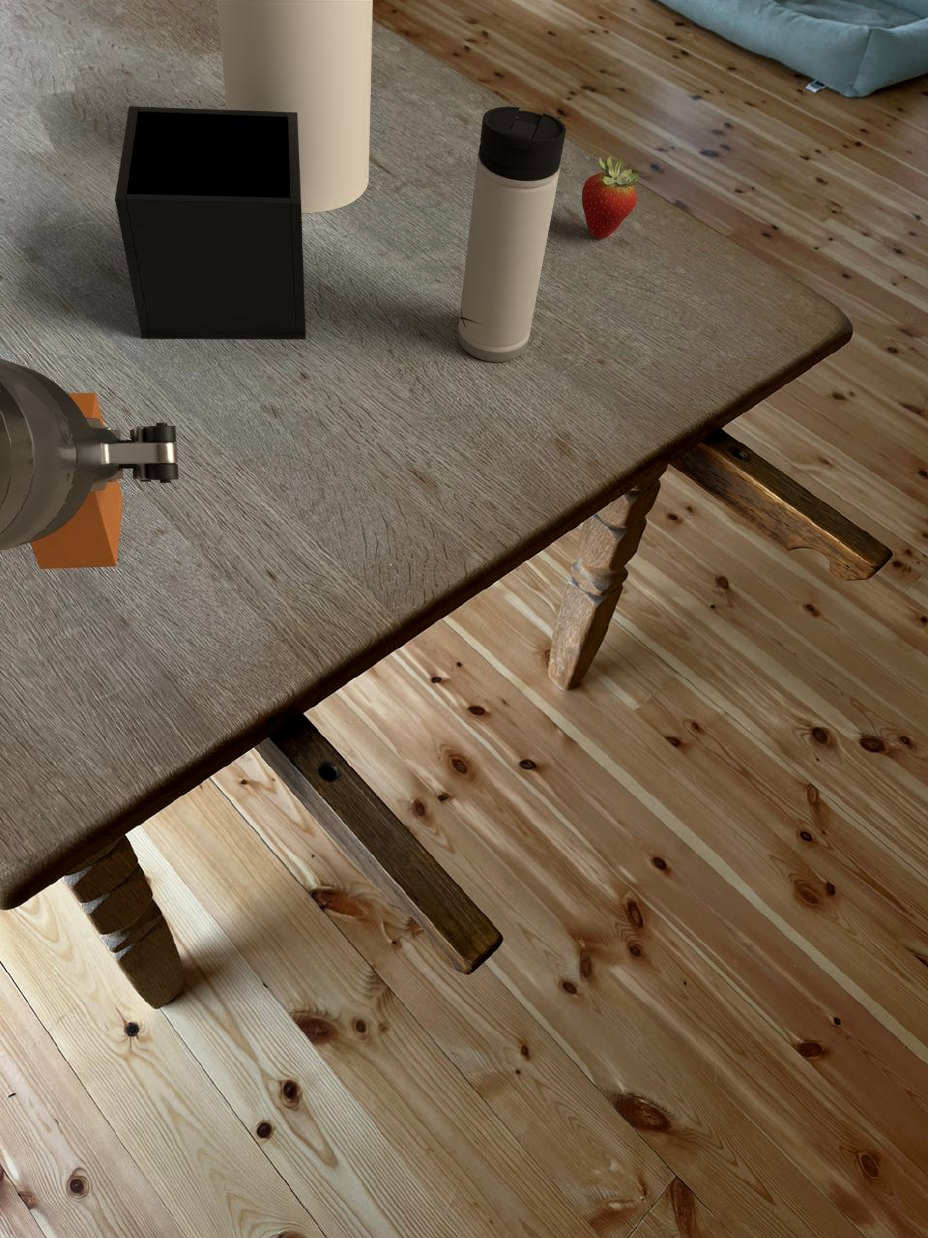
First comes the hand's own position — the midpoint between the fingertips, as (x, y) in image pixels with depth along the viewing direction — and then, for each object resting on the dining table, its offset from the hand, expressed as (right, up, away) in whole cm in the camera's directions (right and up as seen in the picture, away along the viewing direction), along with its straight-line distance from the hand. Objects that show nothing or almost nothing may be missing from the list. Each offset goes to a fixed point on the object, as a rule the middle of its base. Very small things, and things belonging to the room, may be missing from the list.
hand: (71, 456), depth 54 cm
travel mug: (+24, +16, +35) cm, 45 cm away
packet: (0, -4, +2) cm, 5 cm away
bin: (0, +20, +35) cm, 41 cm away
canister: (+5, +36, +47) cm, 60 cm away
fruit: (+35, +29, +46) cm, 64 cm away
